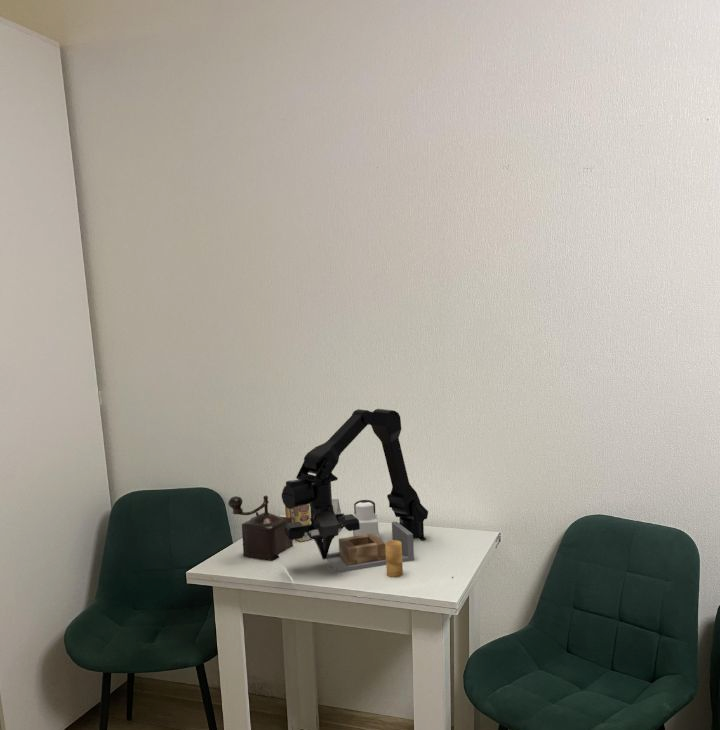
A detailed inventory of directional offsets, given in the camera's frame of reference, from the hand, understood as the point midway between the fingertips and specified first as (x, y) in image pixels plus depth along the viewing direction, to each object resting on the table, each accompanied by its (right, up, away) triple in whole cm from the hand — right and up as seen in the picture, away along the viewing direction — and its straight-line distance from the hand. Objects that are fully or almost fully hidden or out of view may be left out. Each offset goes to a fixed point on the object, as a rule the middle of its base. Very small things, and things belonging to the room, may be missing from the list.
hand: (324, 558), depth 188 cm
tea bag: (0, -1, +33) cm, 33 cm away
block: (+10, -1, +3) cm, 11 cm away
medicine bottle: (+11, -1, +20) cm, 23 cm away
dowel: (+18, -3, -8) cm, 20 cm away
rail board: (+12, -2, +4) cm, 13 cm away
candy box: (-9, -1, +28) cm, 29 cm away
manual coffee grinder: (-18, -3, +13) cm, 23 cm away
